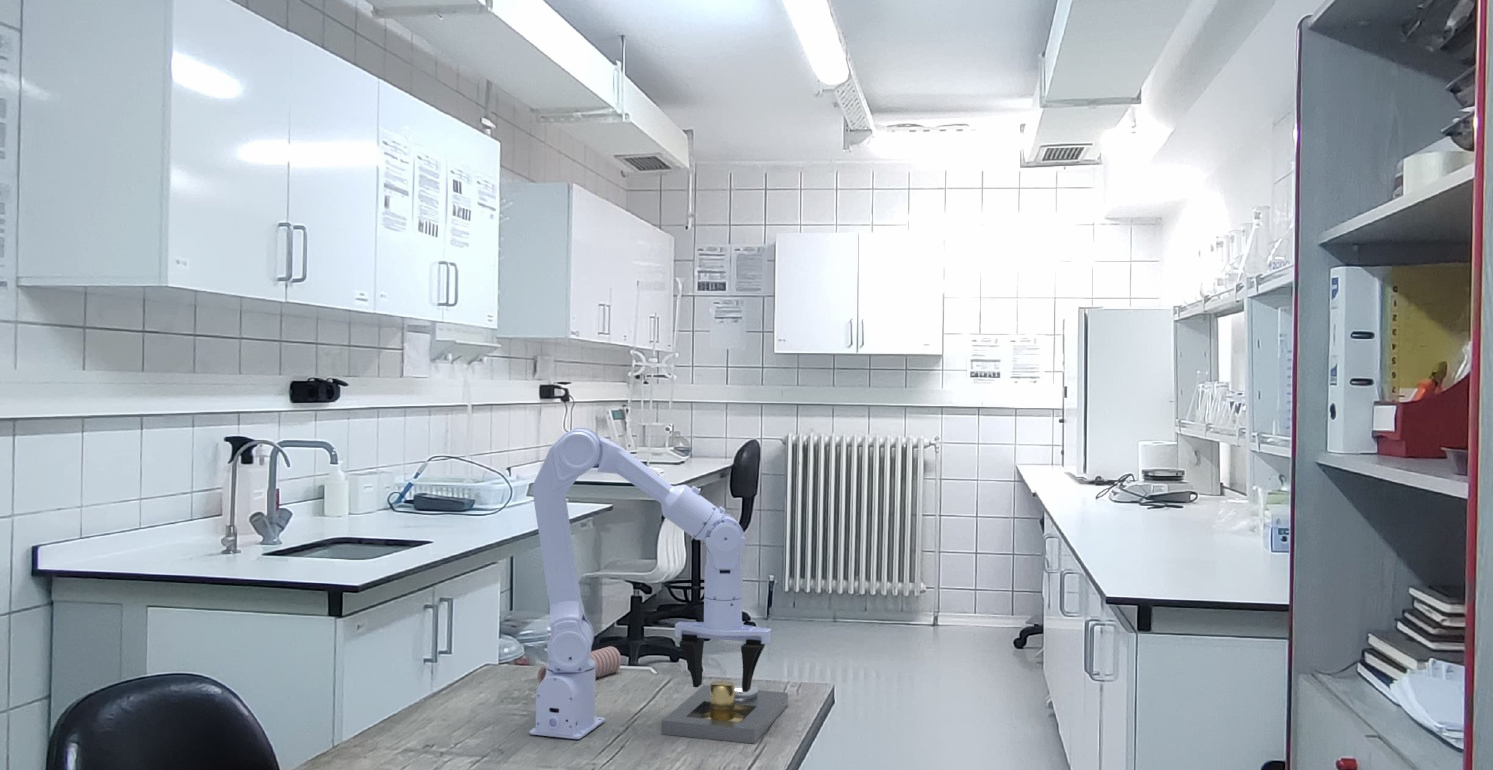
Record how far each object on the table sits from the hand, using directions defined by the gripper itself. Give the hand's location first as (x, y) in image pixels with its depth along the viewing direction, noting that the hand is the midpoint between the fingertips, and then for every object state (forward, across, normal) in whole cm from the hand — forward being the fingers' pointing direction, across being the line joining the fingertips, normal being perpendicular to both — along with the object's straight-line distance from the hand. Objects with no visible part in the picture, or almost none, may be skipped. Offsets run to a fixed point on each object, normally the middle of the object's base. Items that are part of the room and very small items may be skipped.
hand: (721, 688), depth 165 cm
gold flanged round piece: (+6, 0, 0) cm, 6 cm away
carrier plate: (+6, 0, -3) cm, 6 cm away
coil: (+6, +30, -16) cm, 35 cm away
